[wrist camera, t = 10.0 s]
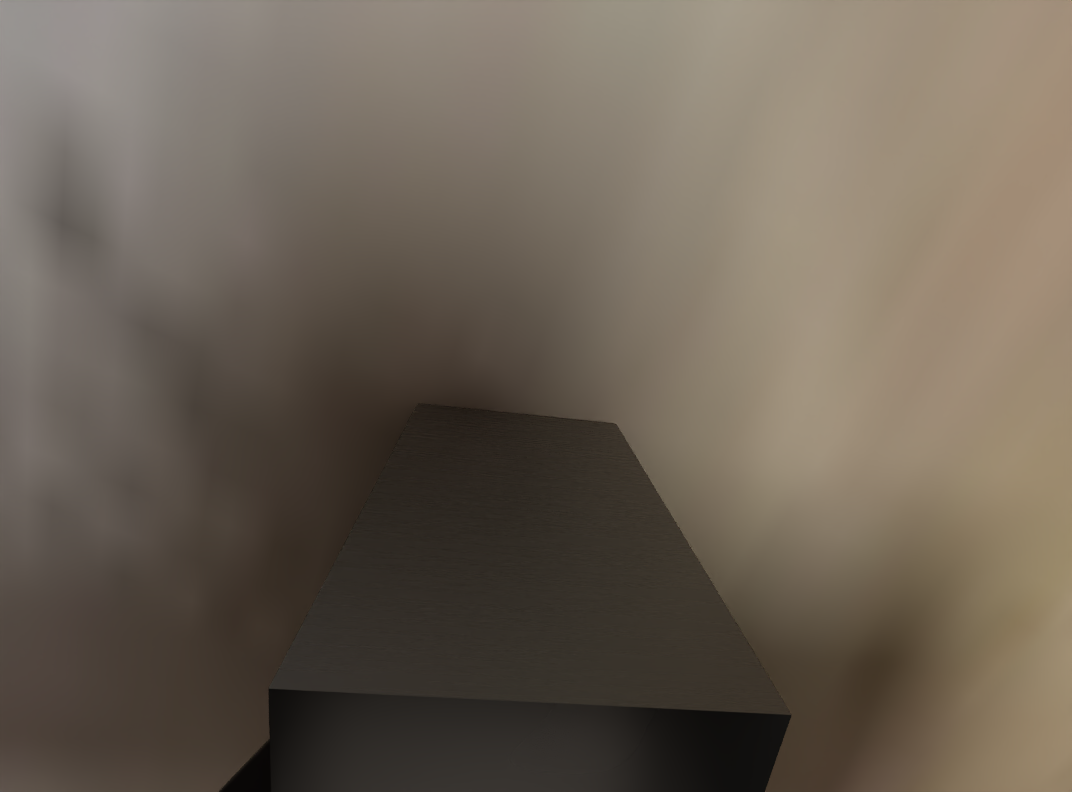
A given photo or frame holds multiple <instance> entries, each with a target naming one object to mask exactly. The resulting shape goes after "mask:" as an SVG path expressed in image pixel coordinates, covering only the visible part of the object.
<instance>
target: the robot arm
mask: <svg viewBox="0 0 1072 792" xmlns="http://www.w3.org/2000/svg"><path fill="white" fill-rule="evenodd" d="M219 792H271V766H270V739H269V740H268V741H267V742H266V743H265V744H264V745H263V746H262V747H261V748H260V749H259V750H258V751H257V752H256V753H255V754H254V755H253V756H252V757H251V759H250V760H249V761H248V762H247V763H246V764H245V765H244V766H243V767H242V768H241V769H240V770H239V771H238V772H237V773H236V774H235V775H234V776H233V777H232V778H231V779H230V780H229V781H228V782H227V783H226V784H225V786H224V787H223V788H222V789H221V790H220V791H219Z"/></svg>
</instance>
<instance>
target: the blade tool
mask: <svg viewBox="0 0 1072 792" xmlns="http://www.w3.org/2000/svg"><path fill="white" fill-rule="evenodd" d="M790 718H791V713H790V711H789V710H788V708H787V706H786V705H785V703H784V701H783V700H782V698H781V696H780V695H779V693H778V691H777V690H776V688H775V687H774V685H773V683H772V682H771V680H770V678H769V677H768V675H767V673H766V672H765V670H764V668H763V667H762V665H761V663H760V662H759V660H758V658H757V657H756V655H755V653H754V652H753V650H752V648H751V647H750V645H749V643H748V642H747V640H746V638H745V637H744V635H743V633H742V632H741V630H740V628H739V627H738V625H737V624H736V622H735V620H734V619H733V617H732V615H731V614H730V612H729V610H728V609H727V607H726V605H725V604H724V602H723V600H722V599H721V597H720V595H719V594H718V592H717V590H716V589H715V587H714V585H713V584H712V582H711V580H710V579H709V577H708V575H707V574H706V572H705V570H704V569H703V567H702V565H701V564H700V562H699V561H698V559H697V557H696V556H695V554H694V552H693V551H692V549H691V547H690V546H689V544H688V542H687V541H686V539H685V537H684V536H683V534H682V532H681V531H680V529H679V527H678V526H677V524H676V522H675V521H674V519H673V517H672V516H671V514H670V512H669V511H668V509H667V507H666V506H665V504H664V502H663V501H662V499H661V498H660V496H659V494H658V493H657V491H656V489H655V488H654V486H653V484H652V483H651V481H650V479H649V478H648V476H647V474H646V473H645V471H644V469H643V468H642V466H641V464H640V463H639V461H638V459H637V458H636V456H635V454H634V453H633V451H632V449H631V448H630V446H629V444H628V443H627V441H626V439H625V438H624V436H623V435H622V433H621V431H620V430H619V428H618V426H617V425H616V424H611V423H601V422H592V421H582V420H572V419H563V418H553V417H543V416H534V415H524V414H514V413H505V412H495V411H485V410H476V409H466V408H456V407H447V406H437V405H427V404H417V406H416V408H415V410H414V412H413V414H412V416H411V418H410V419H409V421H408V423H407V425H406V427H405V429H404V431H403V433H402V435H401V437H400V439H399V440H398V442H397V444H396V446H395V448H394V450H393V452H392V454H391V456H390V458H389V460H388V461H387V463H386V465H385V467H384V469H383V471H382V473H381V475H380V477H379V479H378V481H377V482H376V484H375V486H374V488H373V490H372V492H371V494H370V496H369V498H368V500H367V502H366V503H365V505H364V507H363V509H362V511H361V513H360V515H359V517H358V519H357V521H356V523H355V524H354V526H353V528H352V530H351V532H350V534H349V536H348V538H347V540H346V542H345V544H344V545H343V547H342V549H341V551H340V553H339V555H338V557H337V559H336V561H335V563H334V565H333V566H332V568H331V570H330V572H329V574H328V576H327V578H326V580H325V582H324V584H323V586H322V587H321V589H320V591H319V593H318V595H317V597H316V599H315V601H314V603H313V605H312V607H311V608H310V610H309V612H308V614H307V616H306V618H305V620H304V622H303V624H302V626H301V628H300V629H299V631H298V633H297V635H296V637H295V639H294V641H293V643H292V645H291V647H290V649H289V650H288V652H287V654H286V656H285V658H284V660H283V662H282V664H281V666H280V668H279V670H278V671H277V673H276V675H275V677H274V679H273V681H272V683H271V685H270V687H269V727H270V766H271V792H765V789H766V786H767V783H768V781H769V778H770V775H771V772H772V769H773V766H774V763H775V761H776V758H777V755H778V752H779V749H780V746H781V744H782V741H783V738H784V735H785V732H786V729H787V727H788V724H789V721H790Z"/></svg>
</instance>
